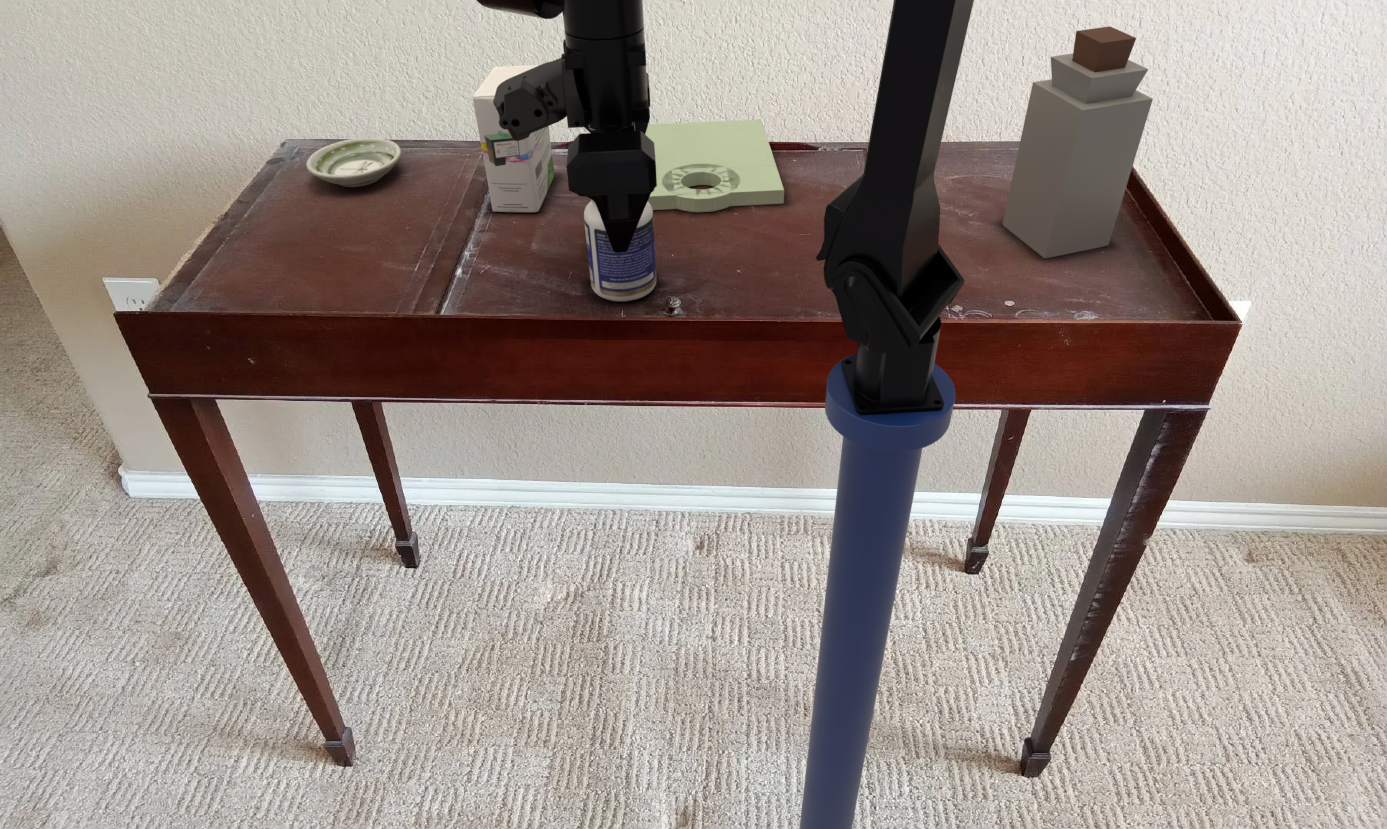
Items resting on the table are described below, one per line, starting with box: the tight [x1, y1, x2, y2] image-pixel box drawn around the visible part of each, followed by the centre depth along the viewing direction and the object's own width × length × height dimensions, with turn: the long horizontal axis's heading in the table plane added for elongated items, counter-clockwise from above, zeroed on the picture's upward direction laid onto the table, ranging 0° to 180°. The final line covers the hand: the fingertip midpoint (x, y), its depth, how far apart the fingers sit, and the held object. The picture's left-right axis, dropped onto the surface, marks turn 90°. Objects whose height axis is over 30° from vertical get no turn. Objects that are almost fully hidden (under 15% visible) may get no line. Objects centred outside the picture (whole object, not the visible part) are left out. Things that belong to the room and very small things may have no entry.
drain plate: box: [645, 119, 785, 213], centre depth 97 cm, size 19×16×2 cm
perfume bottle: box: [1001, 25, 1154, 259], centre depth 79 cm, size 7×7×18 cm
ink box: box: [472, 64, 555, 213], centre depth 90 cm, size 8×5×12 cm, turn 175°
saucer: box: [305, 137, 402, 188], centre depth 97 cm, size 10×10×2 cm
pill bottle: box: [583, 199, 657, 302], centre depth 76 cm, size 6×6×10 cm
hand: (620, 223), depth 76 cm, fingers open, 9 cm apart
